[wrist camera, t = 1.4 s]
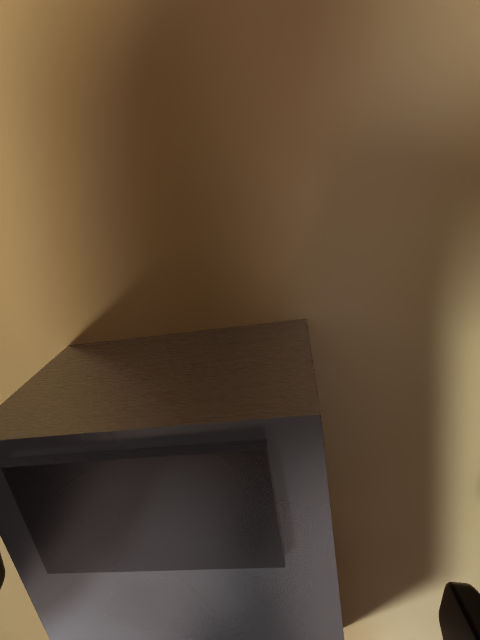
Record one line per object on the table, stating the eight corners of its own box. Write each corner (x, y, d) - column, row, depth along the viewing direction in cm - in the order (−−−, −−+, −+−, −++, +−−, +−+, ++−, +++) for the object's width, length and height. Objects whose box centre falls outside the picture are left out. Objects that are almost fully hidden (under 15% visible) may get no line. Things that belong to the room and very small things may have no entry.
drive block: (338, 619, 11) (363, 818, 8) (164, 620, 12) (118, 803, 9) (305, 314, 8) (321, 424, 5) (74, 340, 9) (-54, 452, 6)
